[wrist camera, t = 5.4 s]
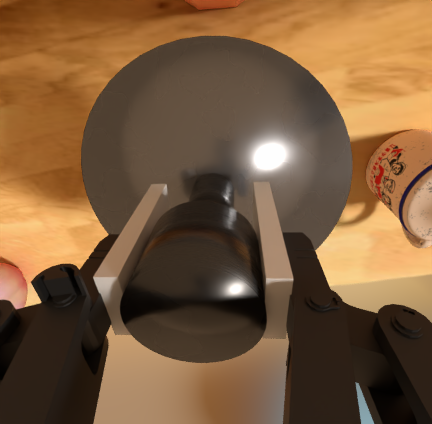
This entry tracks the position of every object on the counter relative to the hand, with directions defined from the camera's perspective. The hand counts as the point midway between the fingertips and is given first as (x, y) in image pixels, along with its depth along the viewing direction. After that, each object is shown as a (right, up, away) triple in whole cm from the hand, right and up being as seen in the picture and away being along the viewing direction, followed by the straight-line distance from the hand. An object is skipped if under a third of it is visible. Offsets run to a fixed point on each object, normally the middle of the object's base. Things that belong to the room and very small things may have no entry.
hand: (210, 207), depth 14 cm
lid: (0, +2, +3) cm, 3 cm away
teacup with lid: (+22, +4, +19) cm, 29 cm away
